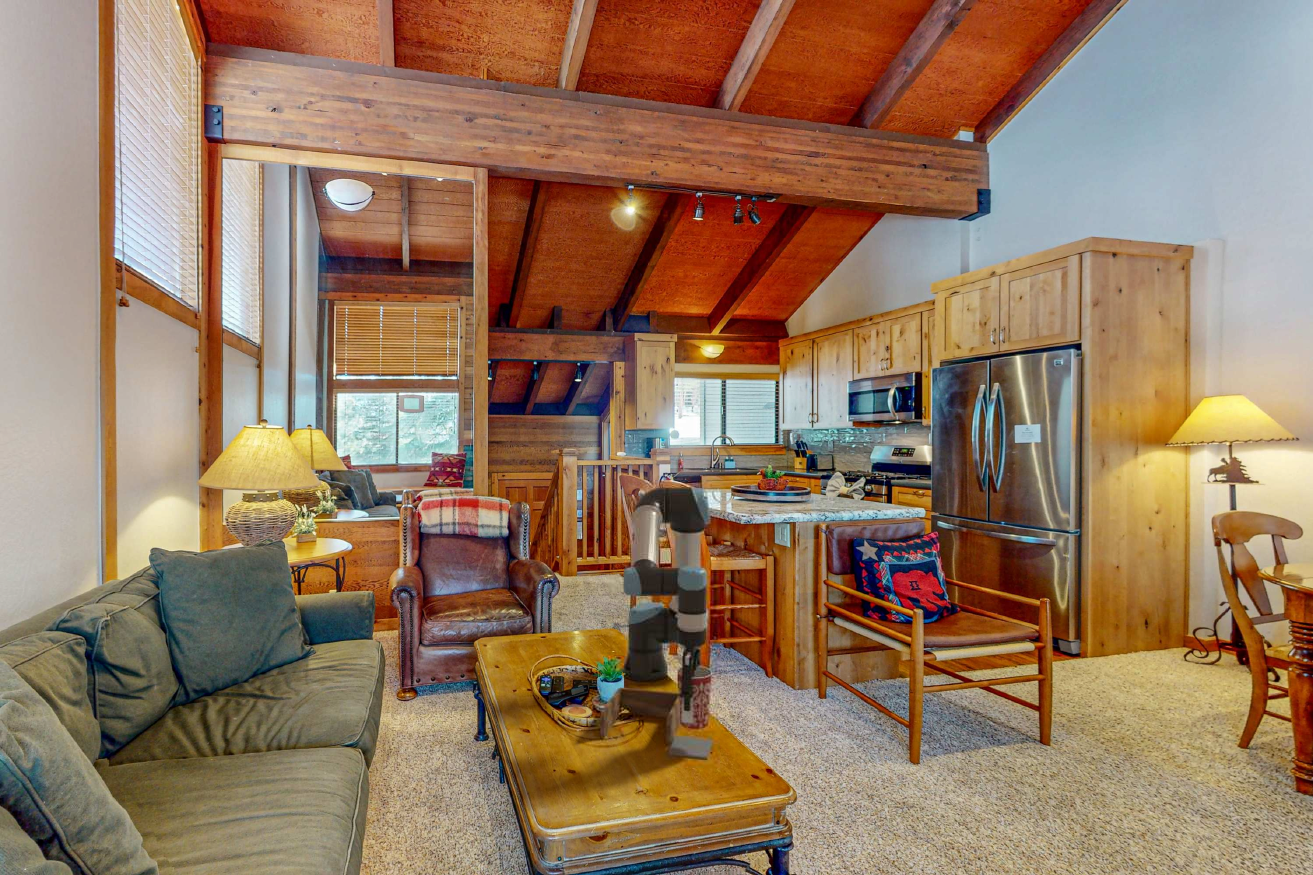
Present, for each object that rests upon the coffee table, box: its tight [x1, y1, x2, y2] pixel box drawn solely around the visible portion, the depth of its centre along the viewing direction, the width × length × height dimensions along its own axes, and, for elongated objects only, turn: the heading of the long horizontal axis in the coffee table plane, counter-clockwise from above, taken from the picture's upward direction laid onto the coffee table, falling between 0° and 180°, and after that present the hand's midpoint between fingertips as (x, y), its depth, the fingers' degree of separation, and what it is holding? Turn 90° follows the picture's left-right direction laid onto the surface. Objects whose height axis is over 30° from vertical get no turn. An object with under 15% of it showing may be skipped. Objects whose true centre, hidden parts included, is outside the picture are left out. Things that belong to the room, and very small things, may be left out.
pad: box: [667, 735, 714, 760], centre depth 177 cm, size 10×10×1 cm
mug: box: [677, 665, 713, 730], centre depth 178 cm, size 13×9×14 cm
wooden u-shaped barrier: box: [599, 687, 681, 747], centre depth 189 cm, size 18×19×7 cm
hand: (691, 713), depth 177 cm, fingers closed on mug, 10 cm apart
